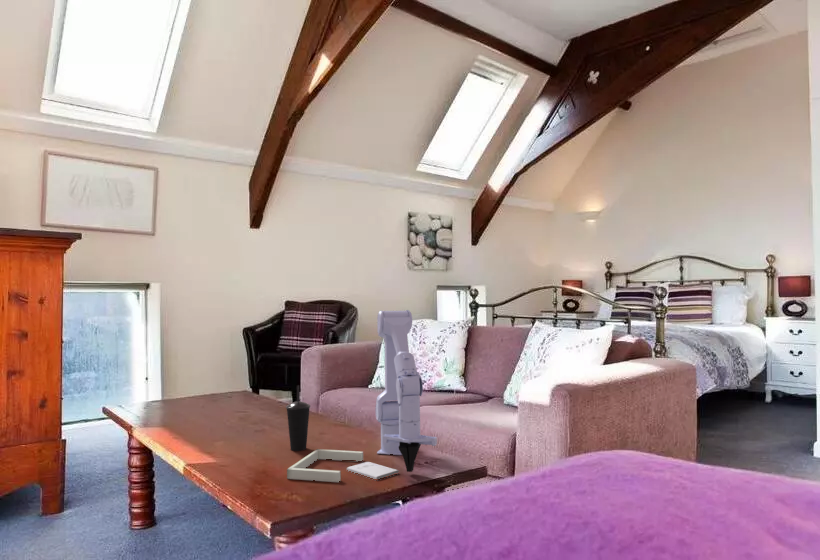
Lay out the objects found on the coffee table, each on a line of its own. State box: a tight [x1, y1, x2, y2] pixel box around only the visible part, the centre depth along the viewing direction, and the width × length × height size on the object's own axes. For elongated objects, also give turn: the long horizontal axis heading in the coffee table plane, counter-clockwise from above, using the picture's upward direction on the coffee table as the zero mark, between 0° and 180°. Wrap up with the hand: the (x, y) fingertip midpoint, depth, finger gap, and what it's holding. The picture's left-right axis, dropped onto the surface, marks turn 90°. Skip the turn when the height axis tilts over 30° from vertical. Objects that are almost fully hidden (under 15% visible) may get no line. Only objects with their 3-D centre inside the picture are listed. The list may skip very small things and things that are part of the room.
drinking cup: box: [285, 384, 311, 452], centre depth 188 cm, size 8×8×20 cm
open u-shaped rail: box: [286, 448, 364, 483], centre depth 166 cm, size 20×14×2 cm
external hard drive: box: [346, 461, 400, 480], centre depth 163 cm, size 2×8×12 cm
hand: (410, 470), depth 161 cm, fingers closed
